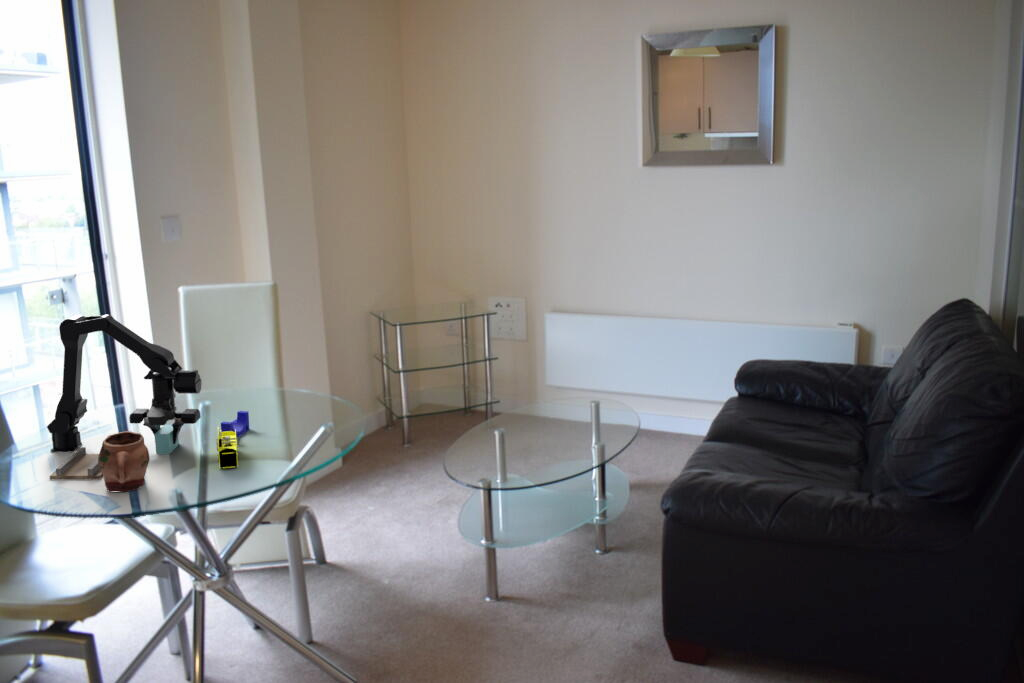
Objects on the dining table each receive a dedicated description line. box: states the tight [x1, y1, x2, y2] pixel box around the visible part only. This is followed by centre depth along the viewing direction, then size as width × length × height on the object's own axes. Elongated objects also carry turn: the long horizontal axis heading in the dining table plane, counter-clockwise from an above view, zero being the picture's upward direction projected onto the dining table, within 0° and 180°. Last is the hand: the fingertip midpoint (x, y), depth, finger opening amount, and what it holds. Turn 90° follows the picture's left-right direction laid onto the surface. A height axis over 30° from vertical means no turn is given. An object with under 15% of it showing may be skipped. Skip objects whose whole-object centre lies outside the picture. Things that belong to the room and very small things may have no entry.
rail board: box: [49, 446, 104, 480], centre depth 240 cm, size 13×16×3 cm
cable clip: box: [220, 410, 250, 439], centre depth 268 cm, size 12×4×6 cm, turn 170°
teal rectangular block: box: [154, 424, 180, 455], centre depth 255 cm, size 4×8×6 cm, turn 3°
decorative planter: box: [98, 430, 150, 492], centre depth 226 cm, size 20×12×14 cm, turn 25°
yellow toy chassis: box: [215, 426, 240, 470], centre depth 248 cm, size 16×6×8 cm, turn 18°
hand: (167, 443), depth 256 cm, fingers closed on teal rectangular block, 4 cm apart
